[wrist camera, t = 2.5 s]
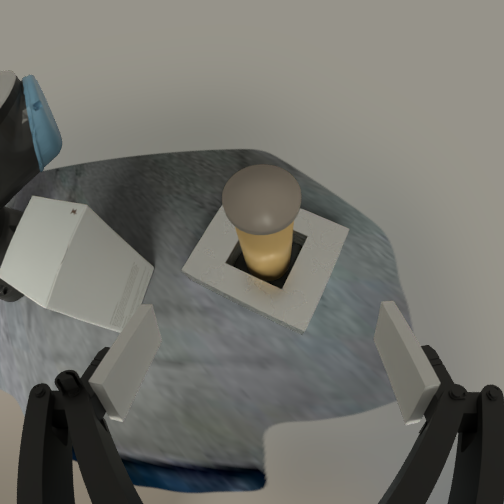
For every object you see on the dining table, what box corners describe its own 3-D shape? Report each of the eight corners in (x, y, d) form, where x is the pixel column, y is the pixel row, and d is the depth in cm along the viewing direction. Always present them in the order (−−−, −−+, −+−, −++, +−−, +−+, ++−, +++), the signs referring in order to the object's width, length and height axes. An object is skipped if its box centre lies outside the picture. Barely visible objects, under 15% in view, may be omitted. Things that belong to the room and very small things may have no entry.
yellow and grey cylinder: (233, 271, 33) (207, 211, 21) (256, 229, 35) (245, 155, 23) (280, 293, 31) (280, 242, 19) (302, 248, 33) (313, 179, 21)
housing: (189, 279, 33) (181, 270, 30) (239, 197, 36) (236, 183, 34) (302, 335, 29) (304, 331, 27) (344, 240, 33) (349, 228, 30)
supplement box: (102, 251, 35) (32, 191, 22) (156, 267, 34) (89, 201, 20) (78, 314, 32) (-6, 276, 18) (131, 338, 31) (44, 308, 17)
